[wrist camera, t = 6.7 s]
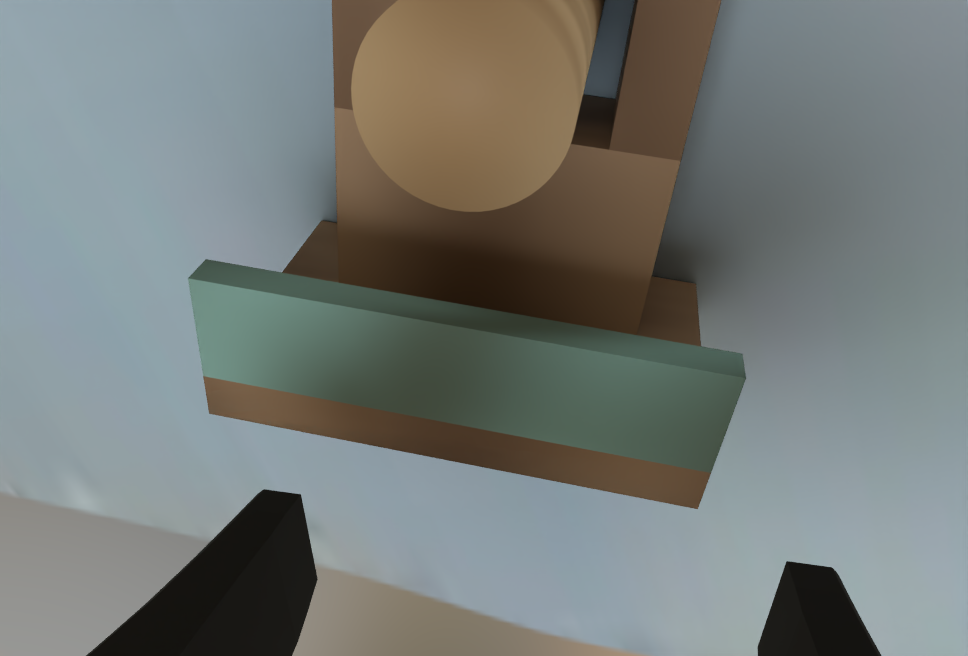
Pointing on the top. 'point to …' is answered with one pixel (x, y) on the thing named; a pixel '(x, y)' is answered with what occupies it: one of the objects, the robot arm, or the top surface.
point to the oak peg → (473, 95)
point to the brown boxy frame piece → (496, 300)
